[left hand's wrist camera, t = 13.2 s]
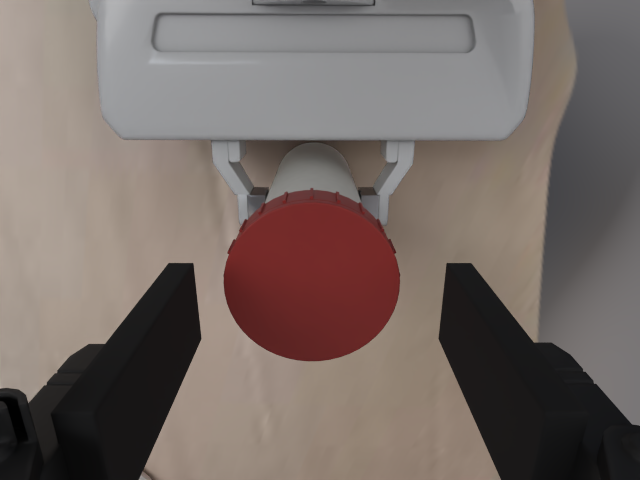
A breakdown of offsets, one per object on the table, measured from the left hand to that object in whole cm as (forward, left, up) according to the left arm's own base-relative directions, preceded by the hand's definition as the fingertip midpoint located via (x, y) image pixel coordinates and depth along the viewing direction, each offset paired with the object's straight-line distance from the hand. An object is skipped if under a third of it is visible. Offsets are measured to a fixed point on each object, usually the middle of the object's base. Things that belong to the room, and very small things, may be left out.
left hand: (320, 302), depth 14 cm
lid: (0, 0, -1) cm, 1 cm away
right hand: (-1, 0, -11) cm, 11 cm away
